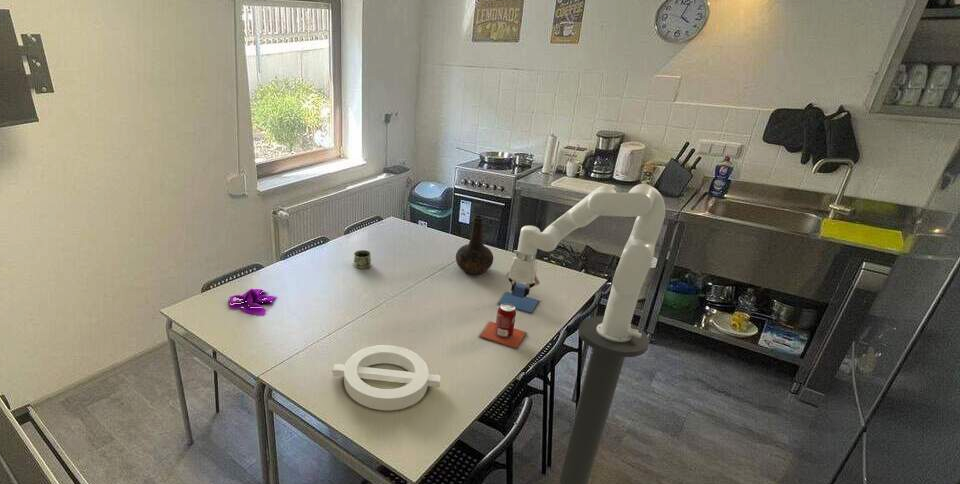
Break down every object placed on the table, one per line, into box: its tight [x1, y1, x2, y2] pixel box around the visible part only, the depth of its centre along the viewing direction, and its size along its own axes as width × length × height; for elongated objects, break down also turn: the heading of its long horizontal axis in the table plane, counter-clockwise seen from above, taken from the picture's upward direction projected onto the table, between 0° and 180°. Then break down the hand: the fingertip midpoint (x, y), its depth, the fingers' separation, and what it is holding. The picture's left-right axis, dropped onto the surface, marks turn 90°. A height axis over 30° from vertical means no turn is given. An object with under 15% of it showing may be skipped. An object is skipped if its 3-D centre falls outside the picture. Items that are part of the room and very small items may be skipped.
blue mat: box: [498, 291, 540, 314], centre depth 211 cm, size 14×12×1 cm
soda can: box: [495, 303, 517, 337], centre depth 186 cm, size 7×7×12 cm
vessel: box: [353, 249, 372, 269], centre depth 244 cm, size 12×9×6 cm
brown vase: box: [455, 214, 494, 275], centre depth 234 cm, size 18×18×28 cm
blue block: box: [513, 281, 527, 298], centre depth 209 cm, size 4×4×4 cm
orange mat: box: [479, 321, 526, 349], centre depth 189 cm, size 14×12×1 cm
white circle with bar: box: [332, 344, 441, 411], centre depth 164 cm, size 28×28×5 cm
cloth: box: [228, 288, 276, 316], centre depth 210 cm, size 22×19×6 cm
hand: (519, 293), depth 210 cm, fingers closed on blue block, 4 cm apart
